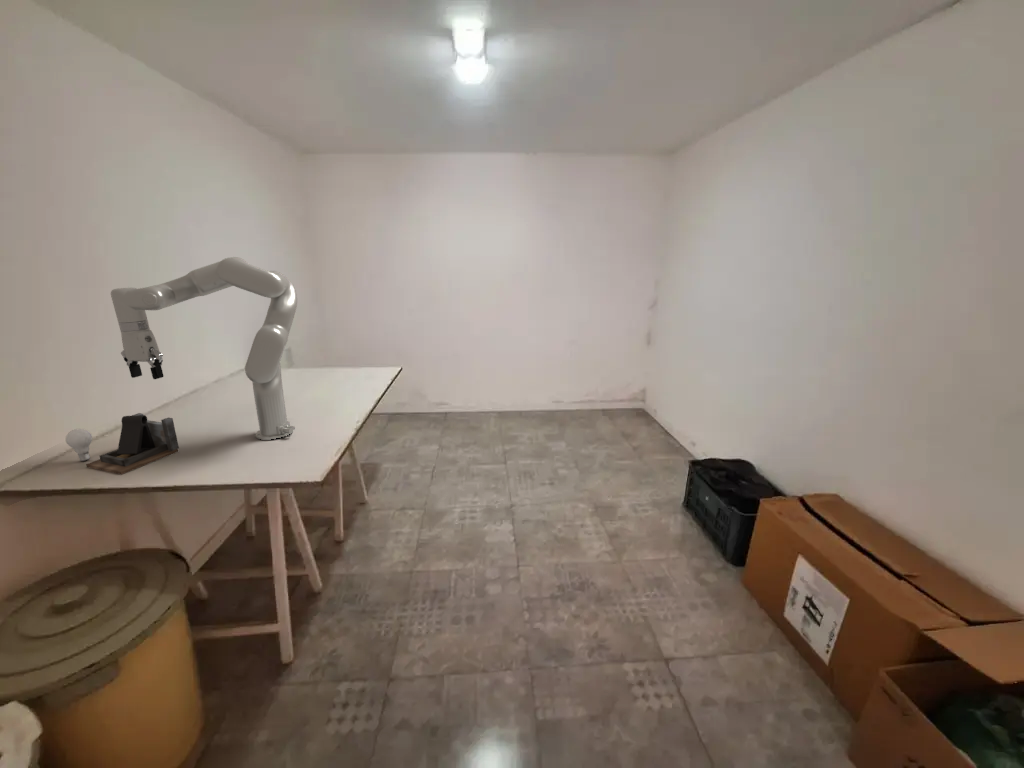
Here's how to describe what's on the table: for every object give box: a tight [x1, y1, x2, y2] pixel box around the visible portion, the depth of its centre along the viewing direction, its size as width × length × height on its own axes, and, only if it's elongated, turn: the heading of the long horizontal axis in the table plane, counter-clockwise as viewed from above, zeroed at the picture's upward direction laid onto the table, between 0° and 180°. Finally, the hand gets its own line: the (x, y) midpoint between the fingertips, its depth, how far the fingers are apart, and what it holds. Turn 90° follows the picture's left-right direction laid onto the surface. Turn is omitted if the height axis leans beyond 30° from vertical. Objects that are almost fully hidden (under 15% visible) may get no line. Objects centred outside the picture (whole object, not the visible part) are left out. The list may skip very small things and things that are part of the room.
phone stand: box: [117, 414, 155, 455], centre depth 154 cm, size 9×6×12 cm, turn 4°
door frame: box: [86, 412, 180, 476], centre depth 152 cm, size 16×18×12 cm
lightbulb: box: [65, 428, 93, 462], centre depth 151 cm, size 6×6×11 cm
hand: (147, 377), depth 156 cm, fingers open, 9 cm apart
